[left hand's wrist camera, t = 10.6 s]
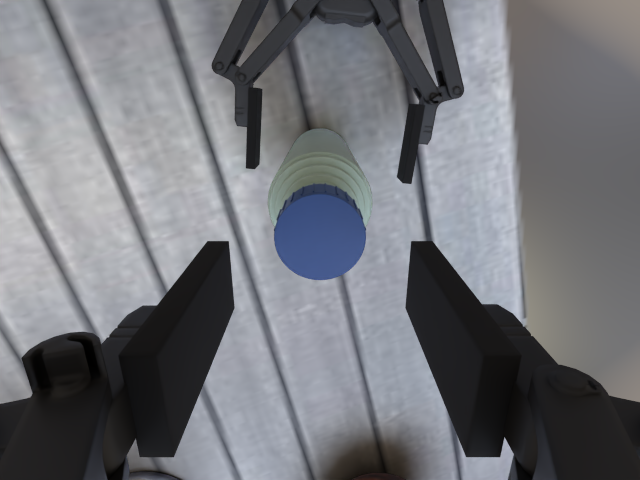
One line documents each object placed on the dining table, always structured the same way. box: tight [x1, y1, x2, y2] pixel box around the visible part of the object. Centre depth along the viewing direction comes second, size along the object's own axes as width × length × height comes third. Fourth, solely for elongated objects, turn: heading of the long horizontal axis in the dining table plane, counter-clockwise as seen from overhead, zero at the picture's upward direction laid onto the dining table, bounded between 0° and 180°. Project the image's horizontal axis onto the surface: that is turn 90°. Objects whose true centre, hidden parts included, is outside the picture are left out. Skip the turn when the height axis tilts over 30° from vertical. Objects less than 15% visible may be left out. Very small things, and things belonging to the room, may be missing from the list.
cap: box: [274, 183, 366, 280], centre depth 19 cm, size 4×4×2 cm
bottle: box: [268, 128, 372, 227], centre depth 30 cm, size 6×6×24 cm
